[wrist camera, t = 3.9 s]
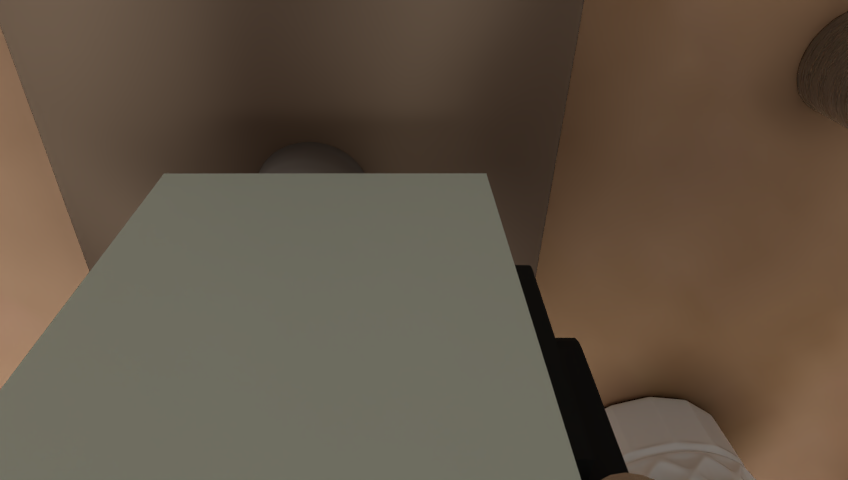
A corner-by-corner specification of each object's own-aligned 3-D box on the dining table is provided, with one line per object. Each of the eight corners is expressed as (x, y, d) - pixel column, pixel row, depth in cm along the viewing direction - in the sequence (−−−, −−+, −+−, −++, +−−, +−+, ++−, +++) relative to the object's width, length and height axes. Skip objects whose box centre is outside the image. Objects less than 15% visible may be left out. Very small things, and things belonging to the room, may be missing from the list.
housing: (485, 173, 10) (590, 508, 5) (466, 392, 13) (515, 744, 8) (163, 173, 9) (-106, 530, 4) (219, 396, 12) (98, 766, 7)
